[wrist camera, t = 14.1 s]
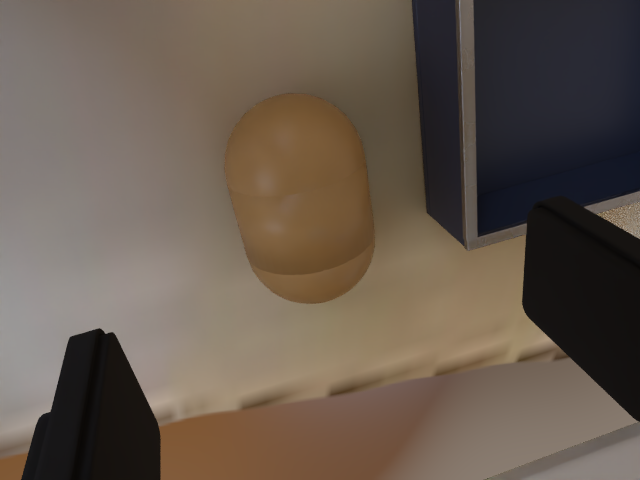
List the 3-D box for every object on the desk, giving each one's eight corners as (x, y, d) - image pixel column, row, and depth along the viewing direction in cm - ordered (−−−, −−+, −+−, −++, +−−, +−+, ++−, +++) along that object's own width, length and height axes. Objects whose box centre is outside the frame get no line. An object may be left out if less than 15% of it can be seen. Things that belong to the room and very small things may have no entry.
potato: (245, 284, 22) (285, 349, 18) (193, 103, 18) (229, 131, 14) (347, 246, 23) (405, 298, 19) (318, 70, 20) (384, 87, 15)
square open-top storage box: (425, 214, 23) (466, 251, 20) (401, -124, 17) (454, -150, 14) (672, 146, 25) (747, 170, 22) (731, -180, 19) (847, -215, 16)
